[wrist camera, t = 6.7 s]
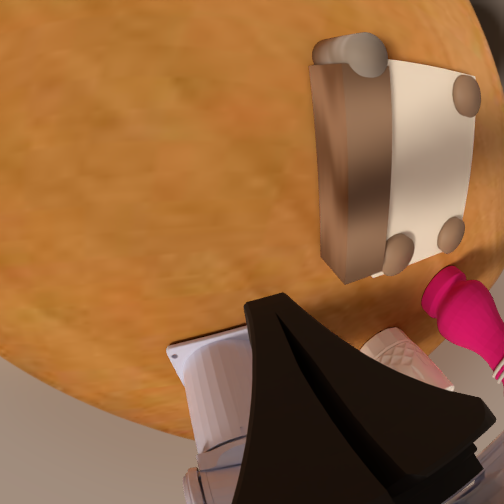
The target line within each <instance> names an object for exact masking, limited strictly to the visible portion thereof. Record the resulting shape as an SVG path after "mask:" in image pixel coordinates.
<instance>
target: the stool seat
mask: <svg viewBox="0 0 504 504" xmlns="http://www.w3.org/2000/svg"><path fill="white" fill-rule="evenodd" d="M387 66H389V70H390V84H391V103H392V169H391V189H390V204H389V216H388V227H387V237H386V245H385V253H384V261H383V268H382V272H379V273H376V274H374V275H371V276H372V278H375V277H378V276H380V275H383V274H385V275H387V276H394V275H397V274H398V273H400V272H401V271H403V270H404V269H405V268H406V267H407V266H408V265H410V264H412V263H415V262H418V261H420V260H423V259H425V258H428V257H430V256H433V255H435V254H438V253H440V252H444V253H446V254H448V253H451V252H452V251H454V250H455V249H456V248H457V247H458V245H459V244H460V242H461V240H462V238H463V235H464V231H465V225H464V222H463V221H462V218H463V214H464V209H465V203H466V198H467V192H468V185H469V179H470V171H471V163H472V154H473V144H474V130H475V115H476V114H477V113H478V111H479V108H480V104H481V93H480V88H479V85H478V83H477V81H476V80H475V76H471V75H467V74H463V73H460V72H456V71H451V70H447V69H443V68H438V67H433V66H428V65H423V64H417V63H411V62H405V61H398V60H391V59H388V63H387Z"/></svg>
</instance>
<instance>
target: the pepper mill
mask: <svg viewBox="0 0 504 504" xmlns="http://www.w3.org/2000/svg"><path fill="white" fill-rule="evenodd" d="M422 308H423V309H424V310H425V311H426V312H427V314H428V315H429V316H430V317H431V318H437V325H438V330H439V332H440V334H441V335H442V336H443V337H445V338H446V339H447V340H448V341H450V342H452V343H453V344H456V345H458V346H461V347H464V348H467V349H469V350H472V351H474V352H476V353H477V354H479V355H480V356H481V357H483V359H484V360H485V361H487V363H488V364H489V366H490V367H491V369H492V370H493V374H492V377H493V378H495V379H496V380H497V383H498V384H499V383H501V382H503V386H504V322H503V321H502V319H501V317H500V315H499V313H498V311H497V308H496V305H495V303H494V300H493V297H492V296H491V294H490V292H489V291H488V289H487V288H486V287H485V286H484V285H483V284H482V283H481V282H480V281H477V280H467V281H466V276H465V274H464V273H463V272H461V271H460V270H459V269H458V268H457V267H455V266H448V267H446V268H444V269H442V270H441V271H440V272H439V273H438V274H437V275H436V276H435V277H434V278H433V279H432V280H431V282H430V283H429V285H428V286H427V288H426V290H425V292H424V294H423V297H422Z"/></svg>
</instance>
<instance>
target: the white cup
mask: <svg viewBox="0 0 504 504" xmlns="http://www.w3.org/2000/svg"><path fill="white" fill-rule="evenodd" d="M360 351H361V352H362V353H364V354H366V355H367V356H369V357H371V358H373V359H374V360H376V361H378V362H380V363H382V364H384V365H386V366H388V367H390V368H392V369H394V370H396V371H398V372H400V373H402V374H405V375H407V376H410V377H412V378H415V379H417V380H420V381H422V382H425V383H427V384H430V385H433V386H436V387H439V388H442V389H445V390H449V391H453V390H454V385H453V384H452V383H451V382H450V381H449V379H448V378H447V377H446V376H445V375H444V374H443V373H442V371H441V370H440V369H439V368H438V367H437V366H436V365H435V364H434V363H433V361H432V360H431V359H430V358H429V357H428V356H427V355H426V354H425V353H424V352H423V351H422V350H421V349H420V348H419V347H418V346H417V345H416V344H415V343H414V342H412V341H411V340H410V339H409V338H408V336H407V335H406V334H405V333H404V332H403V331H402V330H400V329H399V328H397V327H394V328H388V329H385V330H383V331H382V332H380V333H378V334H376V335H375V336H373V337H372V338H371V339H370V340H369V341H367V342H366V343H365V344H364V345H363V347H362V348H361V349H360Z"/></svg>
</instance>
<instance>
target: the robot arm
mask: <svg viewBox="0 0 504 504" xmlns="http://www.w3.org/2000/svg"><path fill="white" fill-rule="evenodd" d="M244 312H245V318H246V324H247V325H246V326H243V327H239V328H236V329H232V330H228V331H225V332H221V333H217V334H213V335H210V336H206V337H202V338H198V339H194V340H190V341H186V342H182V343H178V344H173V345H170V346H168V347H167V348H166V352H167V355H168V357H169V359H170V361H171V363H172V365H173V366H174V368H175V370H176V372H177V374H178V376H179V378H180V379H181V381H182V383H183V385H184V387H185V390H186V395H187V401H188V406H189V412H190V417H191V422H192V427H193V432H194V436H195V441H196V446H197V450H198V454H197V455H196V458H197V462H198V466H199V470H200V471H199V470H198V468H197V467H194V468H190V469H188V472H187V473H186V474H185V476H184V477H183V487H184V493H185V499H186V503H187V504H445V503H446V502H447V503H446V504H504V431H503V432H502V433H501V434H500V435H499V436H498V437H497V438H496V439H495V440H494V441H492V442H491V443H490V444H489V446H488V447H486V448H485V449H484V450H483V451H482V452H481V453H480V454H478V455H477V456H475V454H474V453H475V452H476V451H477V447H476V446H475V445H474V443H473V442H474V441H476V440H477V439H478V438H479V437H480V436H481V435H482V434H483V433H485V432H486V431H487V430H488V429H489V428H490V427H491V426H492V425H493V424H494V423H495V422H496V417H495V416H494V415H493V413H492V412H491V411H490V409H489V408H488V407H487V405H486V404H485V403H484V402H483V401H482V399H481V398H479V397H475V396H470V395H466V394H461V393H457V392H453V391H449V390H445V389H442V388H439V387H436V386H433V385H430V384H427V383H425V382H422V381H420V380H417V379H415V378H412V377H410V376H407V375H405V374H402V373H400V372H398V371H396V370H394V369H392V368H390V367H388V366H386V365H384V364H382V363H380V362H378V361H376V360H374V359H373V358H371V357H369V356H367V355H366V354H364V353H362V352H361V351H359V350H358V349H356V348H354V347H353V346H351V345H350V344H348V343H347V342H345V341H344V340H342V339H341V338H340V337H338V336H337V335H335V334H334V333H333V332H331V331H330V330H329V329H327V328H326V327H325V326H323V325H322V324H321V323H319V322H318V321H317V320H316V319H314V318H313V317H312V316H311V315H309V314H308V313H307V312H306V311H305V310H303V309H302V308H301V307H300V306H299V305H298V304H297V303H295V302H294V301H293V300H292V299H291V298H290V297H289V296H288V295H286V294H285V293H279V294H275V295H272V296H268V297H264V298H261V299H257V300H253V301H250V302H246V304H245V305H244ZM174 354H176V355H174ZM474 480H475V483H474V484H473V485H471V486H469V487H468V488H466V489H465V490H463V489H464V488H465V487H466V486H468V485H469V484H470V483H471V482H472V481H474ZM462 490H463V491H462ZM459 492H460V493H459Z"/></svg>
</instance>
